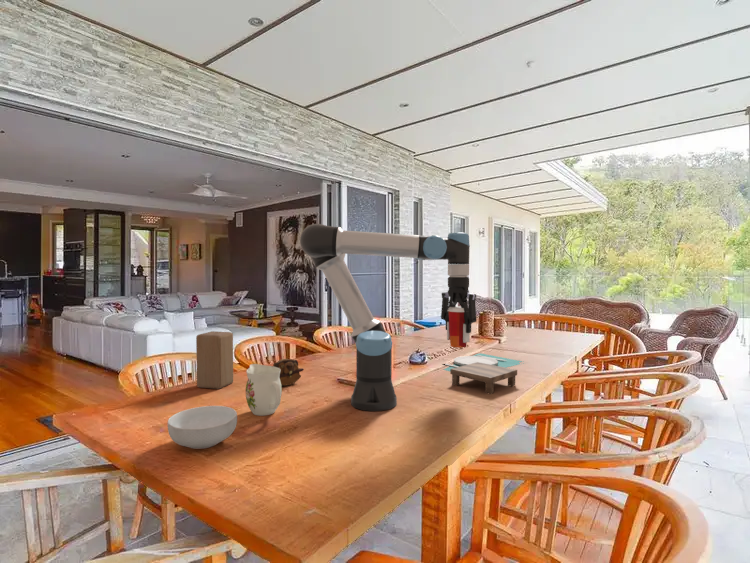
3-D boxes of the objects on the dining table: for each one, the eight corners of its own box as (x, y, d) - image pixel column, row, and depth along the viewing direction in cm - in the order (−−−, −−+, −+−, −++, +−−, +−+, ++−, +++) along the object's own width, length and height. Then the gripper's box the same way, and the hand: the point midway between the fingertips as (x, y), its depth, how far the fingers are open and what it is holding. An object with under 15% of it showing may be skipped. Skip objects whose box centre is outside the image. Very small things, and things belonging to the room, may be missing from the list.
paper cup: (468, 344, 160) (468, 306, 160) (470, 348, 153) (470, 308, 152) (446, 344, 161) (446, 306, 160) (447, 348, 153) (448, 308, 153)
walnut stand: (490, 394, 156) (490, 377, 156) (450, 384, 169) (450, 368, 169) (517, 385, 168) (517, 369, 168) (477, 376, 181) (477, 362, 181)
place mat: (470, 379, 180) (470, 374, 180) (418, 366, 203) (418, 361, 203) (531, 364, 208) (531, 359, 208) (479, 354, 232) (479, 349, 231)
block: (195, 388, 163) (195, 334, 163) (211, 381, 173) (211, 330, 172) (219, 389, 161) (218, 335, 160) (234, 382, 171) (233, 331, 170)
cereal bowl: (158, 442, 114) (157, 415, 113) (219, 425, 125) (219, 401, 125) (183, 463, 101) (183, 433, 101) (249, 443, 113) (248, 416, 113)
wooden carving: (272, 391, 159) (272, 364, 159) (264, 389, 162) (264, 362, 162) (305, 381, 172) (305, 356, 172) (297, 380, 175) (297, 355, 175)
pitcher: (262, 425, 126) (262, 377, 125) (236, 409, 139) (236, 366, 139) (295, 416, 133) (295, 371, 132) (268, 402, 147) (267, 361, 146)
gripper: (487, 276, 151) (487, 343, 152) (443, 275, 166) (443, 336, 166) (475, 277, 146) (474, 345, 147) (430, 276, 161) (430, 338, 161)
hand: (458, 340), depth 157 cm, fingers closed on paper cup, 6 cm apart
